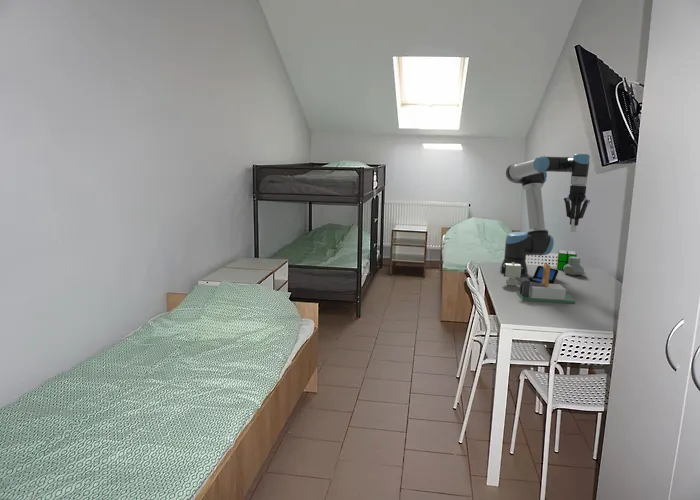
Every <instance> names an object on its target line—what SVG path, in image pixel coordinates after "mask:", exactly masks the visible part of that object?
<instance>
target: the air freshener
mask: <svg viewBox="0 0 700 500" xmlns="http://www.w3.org/2000/svg"><path fill="white" fill-rule="evenodd" d="M580 264H581V258H580V257H578V256H577V257H569V264H567V265H565V266H564V268H563V270H562V271H563V272H564V273H565V274H566V275H568V276H575V277H576V276H581V275H582V274H583V273H584V271H585V270H584V267H583V266H582V265H580Z"/></svg>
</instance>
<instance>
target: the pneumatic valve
mask: <svg viewBox="0 0 700 500" xmlns="http://www.w3.org/2000/svg"><path fill="white" fill-rule="evenodd" d="M500 267H501V270H500V269H499V273H500V274H501V275H502V276H503V277H504V278H505V277H506V279H505V283H506V285H507V286H510V287H511V286H512V287H513V286H516V285H517V284H516V281H518V280H517V279H516V278H519V279H521V278H523V276H522V275H524V274H525V267H523V266H522V264H514V262H512V264H510V263H504V265H502V264H501V265H500Z"/></svg>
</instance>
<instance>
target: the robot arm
mask: <svg viewBox="0 0 700 500" xmlns="http://www.w3.org/2000/svg"><path fill="white" fill-rule="evenodd" d="M590 156H591V155H589V154H588V153H574V154H573V157H572V156H545V155H541V156H536V157H535V159H532V160H529V161H526V162H525V161H524V162H522V163H521V162H520V163H518V162H515V163H512V164H510V165H508V166H507V168H506V170H505V176H506V178H507V180H508V181H510V182H511V183H514V184H521V186H522V189H523V190H525V198H526V209H527V218H528V219H527V221H528V231H527V232H526V231H513V232H510V233H507V235H506V237H505V245H504V246H505V247H504V258H503V261H502V263H501V265H504V263H510V264H512V262H514V264H522V266H523V267H525V274H524V275H522V277H524V276H525V277H526V276H528V266H527V261H526V259H527V256H547V255H549V254H550V253H551V252H552V250H553V249H554V243H555V241H554V237H553V236H552V235H551V234H549V230H548V229H547V228H546V227H545V226H546V223H545V215H544V206H543V205H544V204H543V197H542V193H543V192H542V189H543V187H544V184H545V183H546V181H547V178H548V174H547V172H555V173H556V172H557V173H558V172H559V173H571V176H570V178H571V179H570V186H569V194H568V196H566V197H564V198H563V201H564V204H565V212H566V217H568V218H569V225H570V230H569V231H570V233H576V232H577V227H578V226H579V222H580V221H579V220H580V219H583V218H584V216H585V212H586V210H587V207H588V204H590V202H591V200H590V199H588V198H587V197H586V192H587V186H586V185H587V184H588V176H589V175H588V174H589V169H590V158H591V157H590ZM582 203H583V204H582ZM500 270H501V266H500V268H499V271H500Z"/></svg>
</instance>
